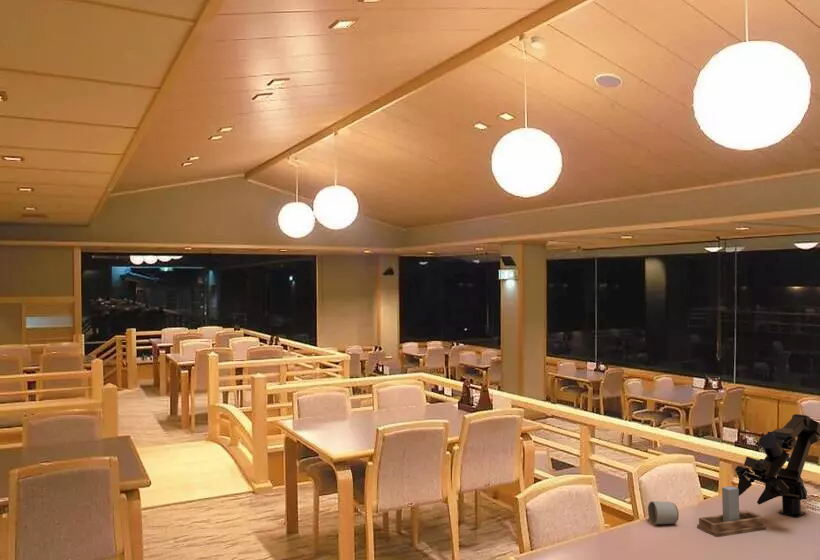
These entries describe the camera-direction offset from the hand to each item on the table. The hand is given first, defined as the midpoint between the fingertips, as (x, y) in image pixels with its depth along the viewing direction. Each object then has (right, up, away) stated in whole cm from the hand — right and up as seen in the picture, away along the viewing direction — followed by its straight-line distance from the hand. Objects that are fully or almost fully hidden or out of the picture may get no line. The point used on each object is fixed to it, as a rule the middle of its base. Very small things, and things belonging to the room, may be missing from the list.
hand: (747, 499), depth 221 cm
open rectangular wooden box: (-6, -9, -2) cm, 11 cm away
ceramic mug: (-27, -10, +5) cm, 29 cm away
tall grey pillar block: (-7, -8, -2) cm, 11 cm away
